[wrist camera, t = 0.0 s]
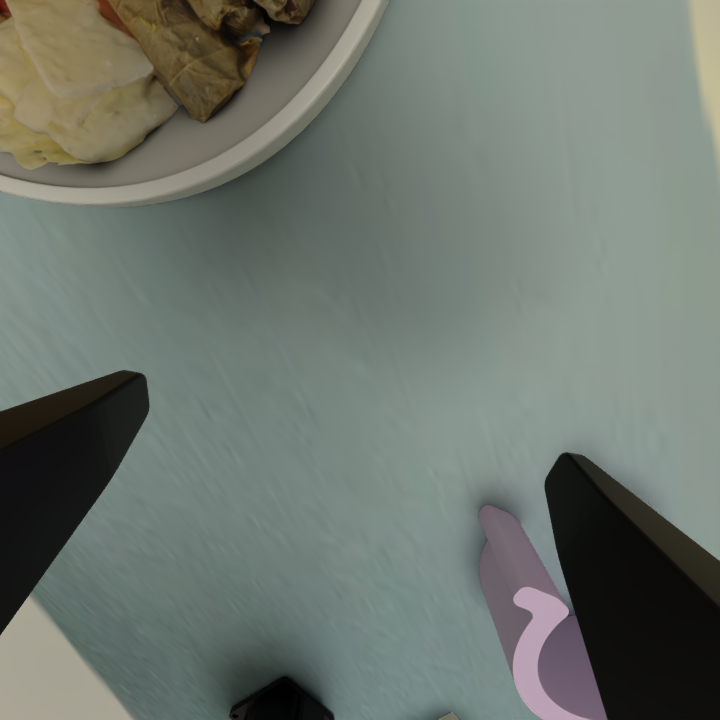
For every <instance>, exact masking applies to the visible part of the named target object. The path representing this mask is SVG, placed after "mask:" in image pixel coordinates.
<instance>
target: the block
mask: <svg viewBox="0 0 720 720" xmlns="http://www.w3.org/2000/svg"><path fill="white" fill-rule="evenodd" d="M438 720H459V719H458V718H457V717H456V716H455V715H454V714H453V713H452V712H451V713H449V714H447V715H445V716H443V717H442V718H440V719H438Z"/></svg>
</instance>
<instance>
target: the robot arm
mask: <svg viewBox="0 0 720 720" xmlns="http://www.w3.org/2000/svg"><path fill="white" fill-rule="evenodd" d="M148 412H149V396H148V388H147V380H146V377H145V376H144V375H143V374H142V373H138V372H133V371H127V370H122V371H118V372H115V373H112V374H109V375H106V376H104V377H101V378H98V379H95V380H92V381H89V382H86V383H83V384H80V385H77V386H74V387H71V388H68V389H65V390H62V391H59V392H56V393H53V394H51V395H48V396H45V397H42V398H39V399H36V400H33V401H30V402H27V403H24V404H21V405H18V406H15V407H12V408H9V409H6V410H3V411H0V635H1V634H2V632H3V631H4V629H5V628H6V626H7V625H8V624H9V622H10V621H11V619H12V618H13V617H14V615H15V614H16V612H17V611H18V610H19V608H20V607H21V606H22V604H23V603H24V601H25V600H26V598H27V597H28V596H29V594H30V593H31V592H32V590H33V589H34V587H35V586H36V584H37V583H38V582H39V580H40V579H41V577H42V576H43V575H44V573H45V572H46V570H47V569H48V568H49V566H50V565H51V563H52V562H53V561H54V559H55V558H56V556H57V555H58V554H59V552H60V551H61V549H62V548H63V547H64V545H65V544H66V542H67V541H68V540H69V538H70V537H71V535H72V534H73V532H74V531H75V530H76V528H77V527H78V525H79V524H80V523H81V521H82V520H83V518H84V517H85V516H86V514H87V513H88V511H89V510H90V509H91V507H92V506H93V504H94V503H95V502H96V500H97V499H98V497H99V496H100V495H101V493H102V492H103V490H104V489H105V487H106V486H107V484H108V483H109V482H110V480H111V479H112V477H113V475H114V474H115V472H116V470H117V469H118V467H119V465H120V463H121V462H122V460H123V458H124V456H125V454H126V453H127V451H128V449H129V447H130V445H131V444H132V442H133V440H134V438H135V437H136V435H137V433H138V431H139V429H140V428H141V426H142V424H143V422H144V420H145V419H146V417H147V415H148ZM545 493H546V498H547V503H548V508H549V514H550V519H551V524H552V529H553V534H554V539H555V544H556V549H557V553H558V557H559V561H560V565H561V568H562V572H563V575H564V578H565V581H566V585H567V588H568V591H569V595H570V598H571V601H572V605H573V608H574V611H575V615H576V618H577V621H578V624H579V628H580V631H581V634H582V638H583V641H584V644H585V648H586V651H587V654H588V658H589V661H590V664H591V667H592V671H593V674H594V677H595V681H596V684H597V687H598V691H599V694H600V697H601V700H602V704H603V707H604V710H605V714H606V717H607V720H720V561H719V560H718V559H716V558H715V557H714V556H712V555H711V554H710V553H709V552H707V551H706V550H705V549H703V548H702V547H701V546H700V545H698V544H697V543H696V542H694V541H693V540H692V539H691V538H689V537H688V536H687V535H685V534H684V533H683V532H682V531H680V530H679V529H678V528H676V527H675V526H674V525H673V524H671V523H670V522H669V521H667V520H666V519H665V518H664V517H662V516H661V515H660V514H658V513H657V512H656V511H655V510H653V509H652V508H651V507H649V506H648V505H647V504H646V503H644V502H643V501H642V500H640V499H639V498H638V497H637V496H635V495H634V494H633V493H631V492H630V491H629V490H628V489H626V488H625V487H624V486H622V485H621V484H620V483H619V482H617V481H616V480H615V479H613V478H612V477H611V476H610V475H608V474H607V473H606V472H604V471H603V470H602V469H601V468H599V467H598V466H597V465H595V464H594V463H593V462H592V461H590V460H589V459H588V458H586V457H585V456H583V455H579V454H574V453H568V452H565V453H562V454H561V455H560V456H559V457H558V459H557V461H556V462H555V464H554V465H553V467H552V469H551V470H550V472H549V474H548V475H547V477H546V480H545ZM229 717H230V718H231V719H232V720H335V719H334V717H333V716H332V715H331V714H330V713H329V712H327V711H326V710H325V709H324V708H323V707H322V706H321V705H319V704H318V703H317V702H316V701H315V700H314V699H313V698H311V697H310V696H309V695H308V694H307V693H306V692H305V691H303V690H302V689H301V688H300V687H299V686H298V685H297V684H295V683H294V682H293V681H292V680H291V679H290V678H288V677H282V678H280V679H278V680H277V681H275V682H273V683H272V684H270V685H269V686H267V687H265V688H264V689H262V690H260V691H259V692H257V693H255V694H254V695H252V696H250V697H249V698H247V699H245V700H244V701H242V702H241V703H239V704H237V705H236V706H234V707H232V708H231V711H230V715H229Z"/></svg>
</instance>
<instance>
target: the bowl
mask: <svg viewBox="0 0 720 720" xmlns="http://www.w3.org/2000/svg"><path fill="white" fill-rule="evenodd" d="M388 2H389V0H0V191H1V192H5V193H8V194H12V195H15V196H20V197H25V198H29V199H34V200H39V201H46V202H52V203H59V204H66V205H75V206H87V207H132V206H144V205H151V204H158V203H164V202H168V201H173V200H178V199H182V198H185V197H189V196H192V195H195V194H199V193H202V192H204V191H207V190H210V189H212V188H215V187H217V186H220V185H222V184H224V183H226V182H229V181H231V180H233V179H235V178H237V177H239V176H241V175H242V174H244V173H246V172H248V171H250V170H251V169H253V168H255V167H256V166H258V165H259V164H261V163H262V162H264V161H265V160H267V159H268V158H270V157H271V156H273V155H274V154H275V153H277V152H278V151H279V150H280V149H282V148H283V147H284V146H286V145H287V144H288V143H289V142H290V141H291V140H293V139H294V138H295V137H296V136H297V135H298V134H299V133H300V132H302V131H303V130H304V129H305V128H306V127H307V126H308V125H309V124H310V122H311V121H312V120H313V119H314V118H315V117H316V116H317V115H318V114H319V113H320V112H321V111H322V110H323V108H324V107H325V106H326V105H327V104H328V103H329V101H330V100H331V99H332V98H333V96H334V95H335V94H336V92H337V91H338V90H339V88H340V87H341V86H342V84H343V83H344V82H345V80H346V79H347V77H348V76H349V74H350V73H351V71H352V70H353V68H354V67H355V65H356V64H357V62H358V61H359V59H360V57H361V55H362V54H363V52H364V50H365V48H366V47H367V45H368V43H369V41H370V40H371V38H372V36H373V34H374V32H375V30H376V28H377V26H378V24H379V22H380V20H381V18H382V16H383V14H384V12H385V9H386V7H387V5H388Z"/></svg>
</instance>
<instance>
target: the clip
mask: <svg viewBox="0 0 720 720" xmlns="http://www.w3.org/2000/svg"><path fill="white" fill-rule="evenodd" d="M478 518H479V520H480V523H481V525H482V528H483V530H484V532H485V535H486V537H487V539H488V540H487V542H486V544H485V546H484V549H483V551H482V555H481V559H480V565H479V576H480V582H481V586H482V589H483V592H484V595H485V598H486V601H487V604H488V607H489V610H490V613H491V615H492V618H493V621H494V624H495V627H496V630H497V633H498V636H499V639H500V642H501V645H502V647H503V650H504V653H505V656H506V659H507V662H508V665H509V668H510V671H511V674H512V676H513V679H514V682H515V685H516V688H517V690H518V693H519V695H520V696H521V698H522V700H523V701H524V703H525V704H526V705H527V706H528V707H529V709H530V710H531V711H532V712H534V713H535V714H536V715H537V716H538V717H540V718H541V719H543V720H607V717H606V714H605V710H604V707H603V704H602V700H601V697H600V694H599V691H598V687H597V684H596V681H595V677H594V674H593V671H592V667H591V664H590V661H589V658H588V654H587V651H586V648H585V644H584V641H583V638H582V634H581V631H580V628H579V624H578V621H577V618H576V615H574V616H568V617H567V615H568V613H569V610H568V608H567V606H566V604H565V602H564V600H563V599H562V597H561V595H560V593H559V592H558V590H557V588H556V586H555V584H554V583H553V581H552V579H551V577H550V576H549V574H548V572H547V570H546V569H545V567H544V565H543V563H542V561H541V560H540V558H539V556H538V554H537V553H536V551H535V549H534V547H533V546H532V544H531V542H530V540H529V538H528V537H527V535H526V533H525V531H524V530H523V528H522V526H521V524H520V522H519V521H518V520H517V519H516V518H515V517H514V516H512V515H511V514H510V513H507V512H505V511H503V510H500V509H498V508H496V507H493V506H491V505H486V506H484V507H482V508H481V510H480V511H479V513H478Z"/></svg>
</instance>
